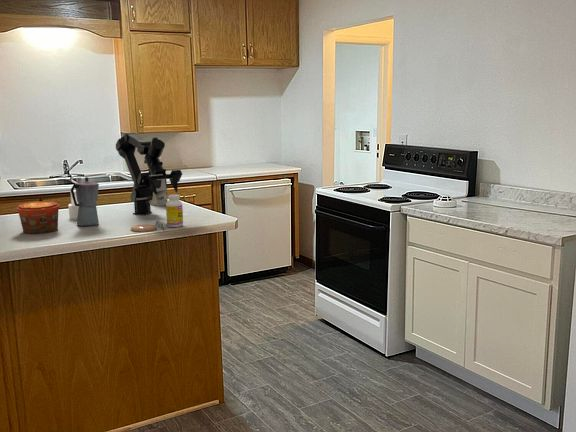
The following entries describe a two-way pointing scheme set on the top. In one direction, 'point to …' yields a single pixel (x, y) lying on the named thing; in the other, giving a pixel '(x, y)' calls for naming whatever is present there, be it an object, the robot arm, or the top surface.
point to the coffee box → (160, 195)
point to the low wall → (159, 224)
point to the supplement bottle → (174, 211)
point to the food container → (39, 217)
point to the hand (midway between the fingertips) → (166, 192)
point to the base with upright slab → (73, 207)
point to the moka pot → (86, 202)
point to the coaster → (143, 227)
